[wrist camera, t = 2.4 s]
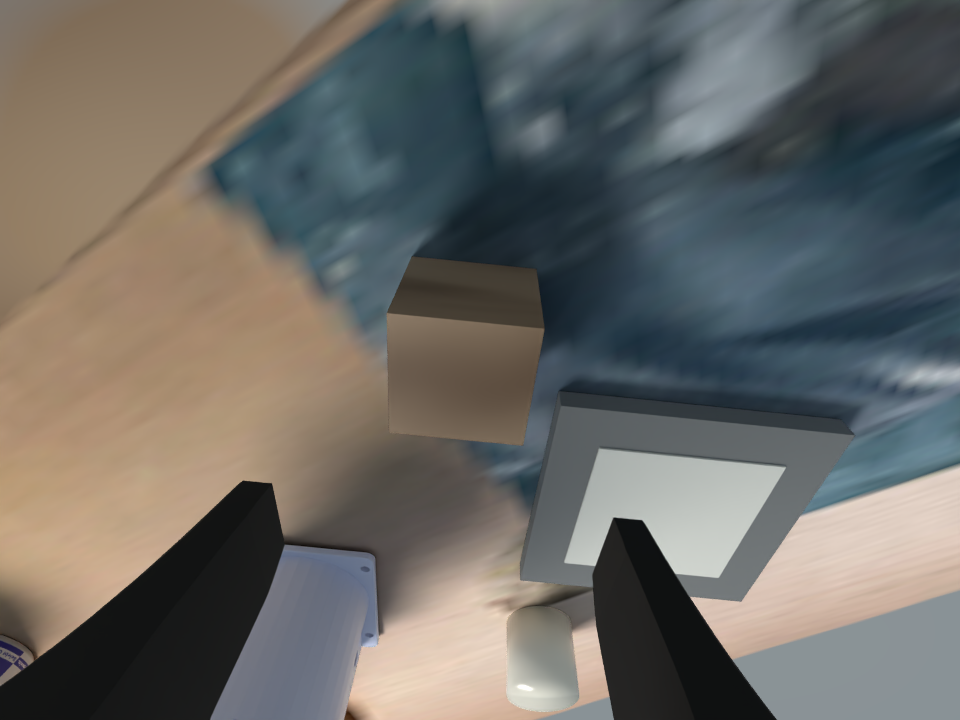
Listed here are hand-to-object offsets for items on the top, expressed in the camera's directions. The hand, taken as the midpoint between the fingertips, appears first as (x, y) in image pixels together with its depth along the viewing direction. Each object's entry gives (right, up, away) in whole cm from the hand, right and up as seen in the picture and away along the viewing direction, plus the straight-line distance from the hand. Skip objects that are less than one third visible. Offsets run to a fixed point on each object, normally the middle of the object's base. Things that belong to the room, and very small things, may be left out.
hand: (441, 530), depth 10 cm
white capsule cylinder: (+5, -13, +20) cm, 24 cm away
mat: (+10, -3, +13) cm, 17 cm away
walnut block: (0, +5, +8) cm, 10 cm away
